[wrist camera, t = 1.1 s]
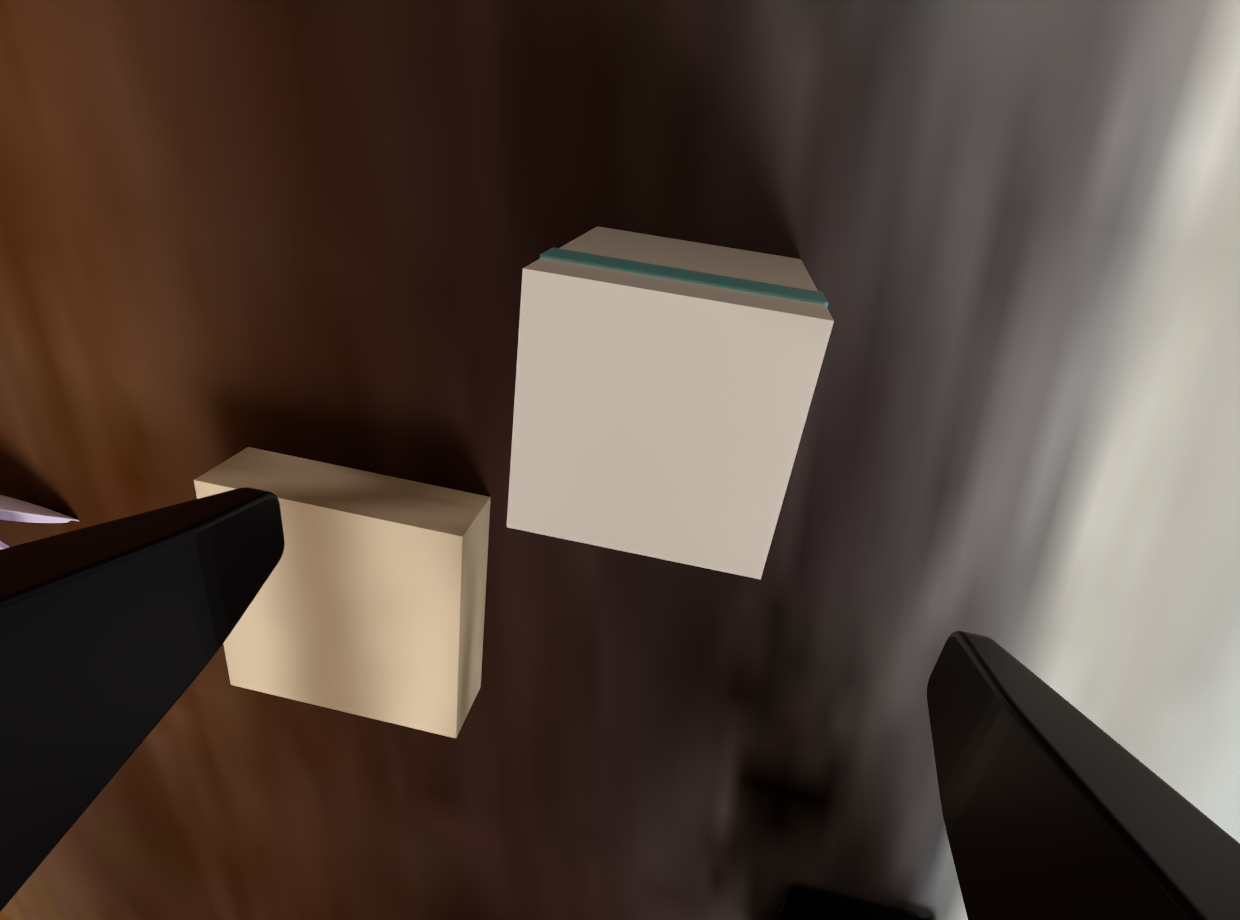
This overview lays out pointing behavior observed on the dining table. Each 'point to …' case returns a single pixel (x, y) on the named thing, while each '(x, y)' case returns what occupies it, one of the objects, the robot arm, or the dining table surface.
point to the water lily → (28, 513)
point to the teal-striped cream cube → (662, 396)
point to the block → (364, 592)
